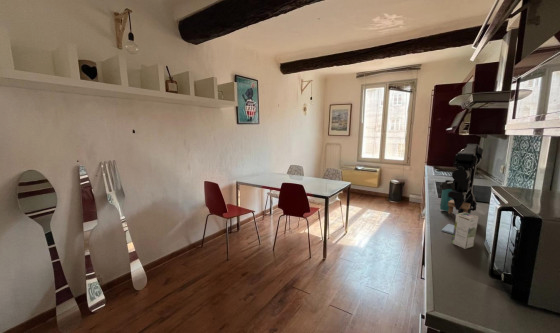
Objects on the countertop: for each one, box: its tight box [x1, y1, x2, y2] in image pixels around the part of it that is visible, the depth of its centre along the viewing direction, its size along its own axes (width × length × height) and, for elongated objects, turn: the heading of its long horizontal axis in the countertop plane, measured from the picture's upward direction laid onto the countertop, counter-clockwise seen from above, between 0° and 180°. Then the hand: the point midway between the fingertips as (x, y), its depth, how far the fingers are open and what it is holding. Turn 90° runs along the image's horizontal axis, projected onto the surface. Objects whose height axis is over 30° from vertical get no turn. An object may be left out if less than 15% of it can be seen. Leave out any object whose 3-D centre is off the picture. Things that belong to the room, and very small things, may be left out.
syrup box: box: [451, 212, 479, 250], centre depth 102 cm, size 6×6×14 cm
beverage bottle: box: [439, 179, 453, 212], centre depth 142 cm, size 6×7×20 cm
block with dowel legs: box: [447, 200, 470, 215], centre depth 115 cm, size 8×5×6 cm, turn 40°
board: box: [441, 223, 455, 235], centre depth 117 cm, size 11×9×1 cm
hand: (458, 208), depth 115 cm, fingers closed on block with dowel legs, 5 cm apart
